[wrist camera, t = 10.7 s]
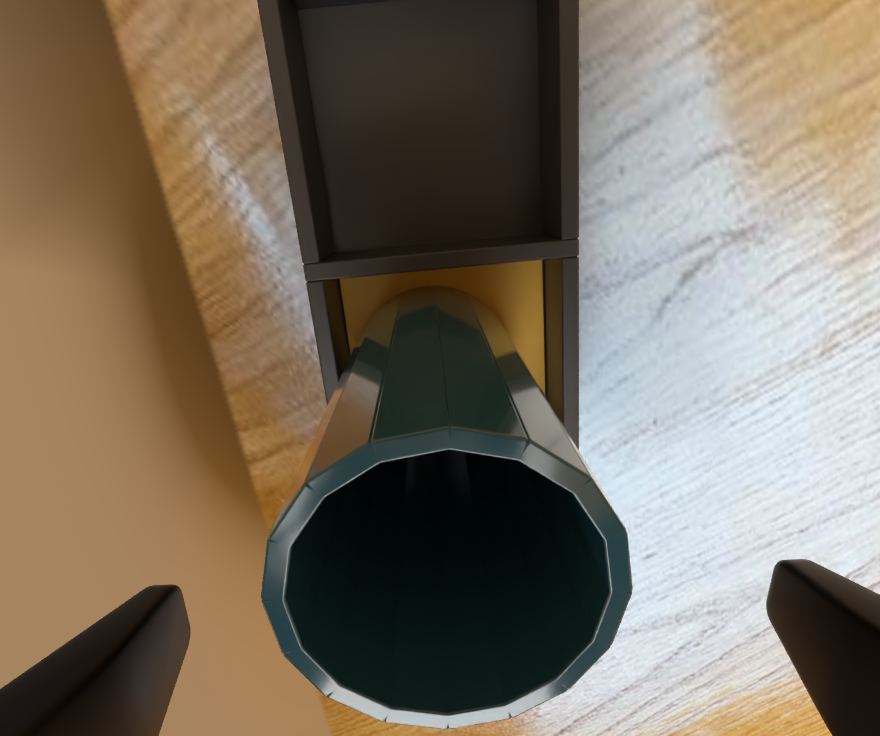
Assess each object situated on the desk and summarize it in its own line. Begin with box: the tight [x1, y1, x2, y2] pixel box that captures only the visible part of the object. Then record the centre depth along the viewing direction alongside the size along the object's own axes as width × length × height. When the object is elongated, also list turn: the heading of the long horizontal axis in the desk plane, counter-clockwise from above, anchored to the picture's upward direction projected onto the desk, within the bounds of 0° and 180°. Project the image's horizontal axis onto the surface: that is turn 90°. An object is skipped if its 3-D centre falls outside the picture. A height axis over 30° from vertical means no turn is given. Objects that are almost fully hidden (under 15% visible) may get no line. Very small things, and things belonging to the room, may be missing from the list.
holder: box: [257, 0, 579, 450], centre depth 16 cm, size 15×8×3 cm, turn 5°
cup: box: [261, 286, 633, 729], centre depth 13 cm, size 5×5×11 cm
